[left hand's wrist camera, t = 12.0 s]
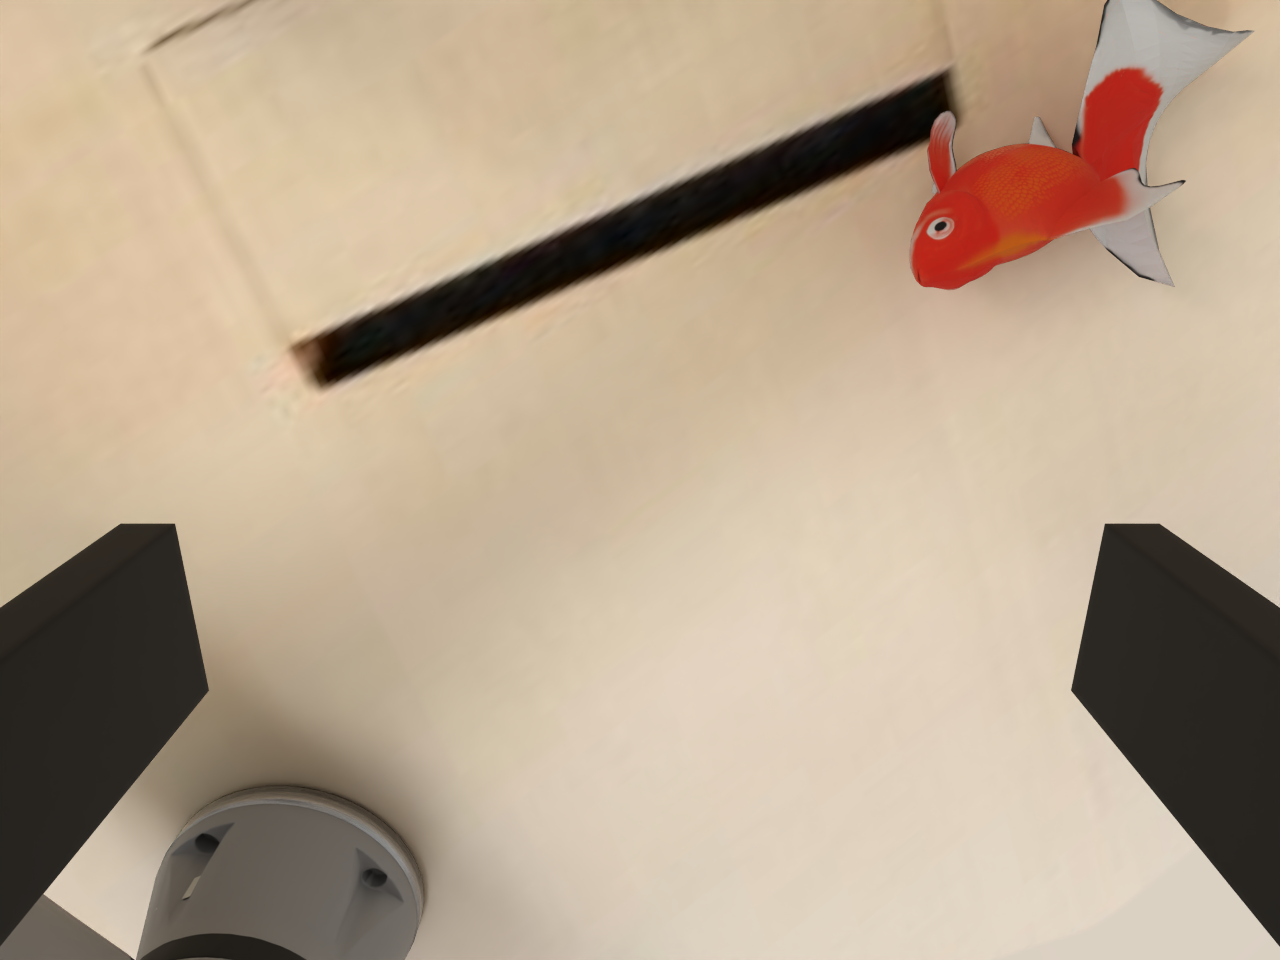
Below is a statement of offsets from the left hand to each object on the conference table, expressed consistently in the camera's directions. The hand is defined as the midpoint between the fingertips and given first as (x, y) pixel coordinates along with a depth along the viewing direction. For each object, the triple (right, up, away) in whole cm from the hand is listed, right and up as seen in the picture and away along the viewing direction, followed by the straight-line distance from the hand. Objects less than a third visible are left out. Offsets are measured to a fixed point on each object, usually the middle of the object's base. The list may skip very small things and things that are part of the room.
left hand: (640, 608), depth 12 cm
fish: (+17, +16, +26) cm, 35 cm away
